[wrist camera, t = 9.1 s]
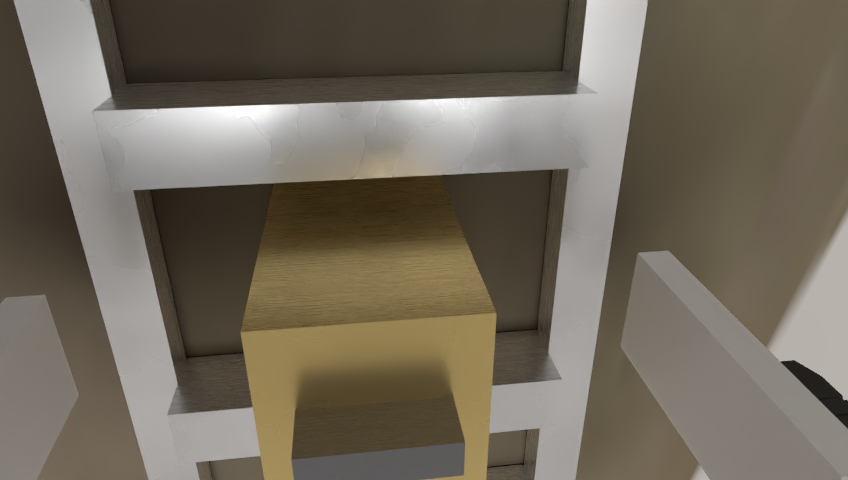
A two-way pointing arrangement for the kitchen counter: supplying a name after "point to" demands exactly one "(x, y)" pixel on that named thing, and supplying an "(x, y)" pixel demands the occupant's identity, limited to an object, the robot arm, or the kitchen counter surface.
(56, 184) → the kitchen counter surface
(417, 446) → the tan rectangular block
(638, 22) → the white slotted rack
